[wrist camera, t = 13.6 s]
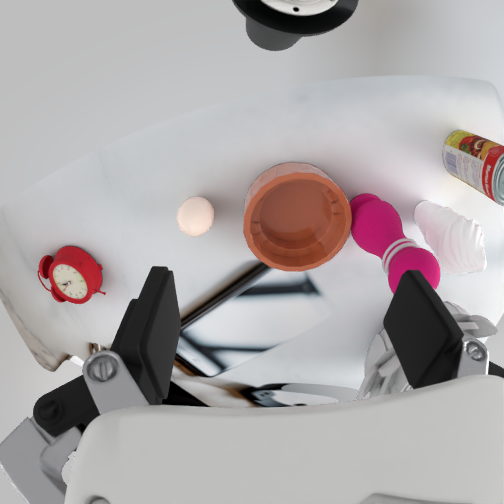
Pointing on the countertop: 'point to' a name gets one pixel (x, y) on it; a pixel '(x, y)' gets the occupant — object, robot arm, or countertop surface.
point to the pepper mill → (389, 240)
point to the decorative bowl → (387, 363)
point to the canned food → (476, 163)
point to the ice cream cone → (451, 238)
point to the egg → (195, 216)
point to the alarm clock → (71, 275)
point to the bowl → (296, 217)
